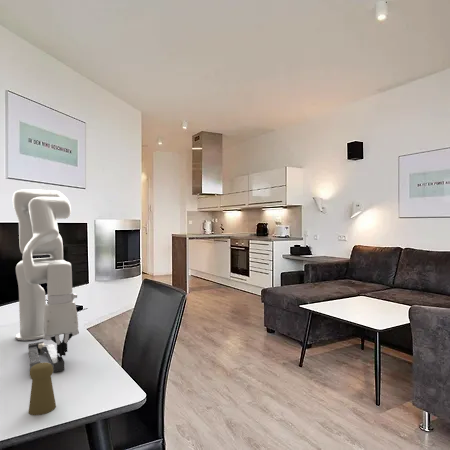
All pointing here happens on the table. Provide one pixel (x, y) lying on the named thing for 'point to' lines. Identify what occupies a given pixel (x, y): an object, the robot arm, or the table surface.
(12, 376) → the table surface
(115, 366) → the table surface
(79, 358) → the table surface
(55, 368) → the tong arm
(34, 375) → the cork
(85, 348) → the table surface
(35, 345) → the tong base
